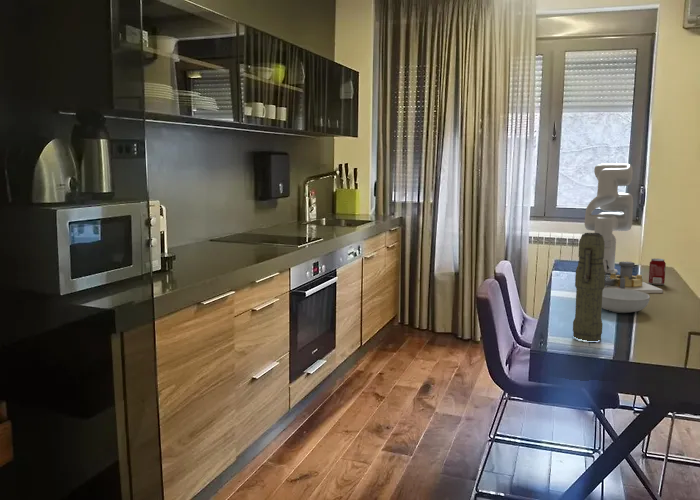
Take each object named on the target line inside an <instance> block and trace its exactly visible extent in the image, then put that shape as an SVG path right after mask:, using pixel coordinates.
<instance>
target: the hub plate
mask: <svg viewBox="0 0 700 500" xmlns="http://www.w3.org/2000/svg"><path fill="white" fill-rule="evenodd" d="M618 265H619V267H620V272H619V275H620V286H616V285H609V286H604V288H621V289H629V290H635V291H640V292H643V293H646V294H663V292H664V289H662V288H659V287H657V286H656V285H652V284H650V283H647V282H645V281H642V286H639V287H625V278H624V276H629V279H632V276H633V269H634V268H633V267H635V262H632V261H619V262H618Z"/></svg>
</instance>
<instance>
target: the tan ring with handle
mask: <svg viewBox="0 0 700 500" xmlns="http://www.w3.org/2000/svg"><path fill="white" fill-rule="evenodd" d="M624 278H625V287H639V286H642V282H643V274H636V275H632V279H629V276H624ZM609 285H616V286H620V274H617V273H610V276H609V279H608V278H607V279H606V278H605V284H604V286H609Z"/></svg>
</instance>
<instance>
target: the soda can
mask: <svg viewBox="0 0 700 500" xmlns="http://www.w3.org/2000/svg"><path fill="white" fill-rule="evenodd" d="M666 264H667V263H666V262H665V259H664V258H651V261H650V262H649V268H648V269H649V270H648V284H650V285H652V284H654V285H653V286H663V285H665V281H666V266H667V265H666Z"/></svg>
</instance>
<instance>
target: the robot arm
mask: <svg viewBox="0 0 700 500" xmlns="http://www.w3.org/2000/svg"><path fill="white" fill-rule="evenodd" d="M593 171H594V175H595V178H596V180H597V193H596V196H595V197H594V198H593V199H592V200H590V202H589V203H588V205H587V206H586V208H585V214H584V215H585V216H584V228H585V229H586V230H588V231H590V232H592V231H593V233H599V234H600V235H602V236H603V239H604V243H605V245H604V258H603V263H604V264H603V266H604V270H605V276H606V274H611V273H616V274H617V273H618V269H616V268H615V264H616V246H617V239H616V236H615V235H614V234H613V232H614V231H615V232H617V231H618V232H627V231H630V230H631V229H632V227H633V217H634V216H633V215H634V198H633V195H632V194H631V193H628V192H618V191H619V189H618V188H619V187H628V186H630V185H631V184H632V181H633V175H634V172H633V171H634V169H633V166H632V164H629V163H600V164H596V165H595V166H594V170H593ZM598 208H599V209H600V210H602V211H603V212H599V213H598V214H593V211H595V210H596V209H598ZM604 211H605V212H604Z"/></svg>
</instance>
